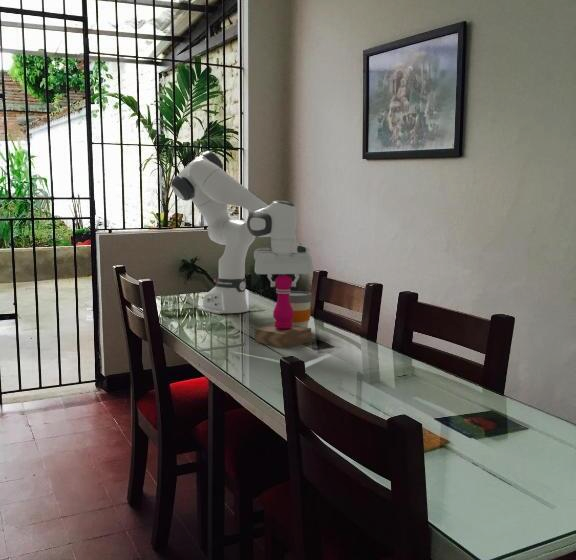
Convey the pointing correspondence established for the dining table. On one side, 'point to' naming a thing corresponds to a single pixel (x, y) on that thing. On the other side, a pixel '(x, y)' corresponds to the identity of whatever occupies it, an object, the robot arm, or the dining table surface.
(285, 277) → the pepper mill
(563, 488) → the dining table surface
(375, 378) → the dining table surface
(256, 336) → the walnut block
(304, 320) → the reusable coffee cup
